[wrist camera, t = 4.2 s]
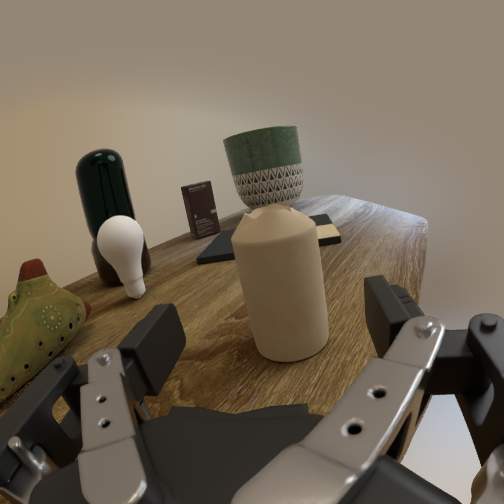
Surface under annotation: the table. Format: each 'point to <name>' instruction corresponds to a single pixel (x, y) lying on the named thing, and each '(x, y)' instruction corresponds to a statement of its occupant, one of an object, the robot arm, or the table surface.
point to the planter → (266, 166)
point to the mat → (223, 243)
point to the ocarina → (36, 326)
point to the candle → (282, 282)
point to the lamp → (105, 202)
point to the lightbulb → (123, 251)
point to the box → (200, 209)
